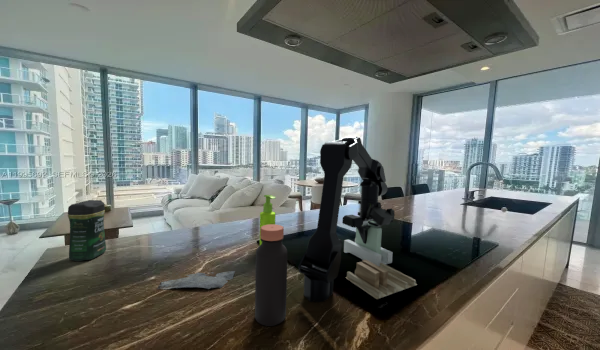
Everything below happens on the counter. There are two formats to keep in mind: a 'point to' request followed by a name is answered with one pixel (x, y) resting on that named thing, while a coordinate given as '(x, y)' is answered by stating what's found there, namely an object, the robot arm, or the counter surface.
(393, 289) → the birch rack
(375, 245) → the green sheet
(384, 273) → the middle offcut
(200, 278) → the stone slab
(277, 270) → the bottle
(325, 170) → the robot arm
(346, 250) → the grey slotted stand
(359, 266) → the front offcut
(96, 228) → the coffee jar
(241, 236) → the counter surface
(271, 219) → the soap dispenser
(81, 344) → the counter surface
